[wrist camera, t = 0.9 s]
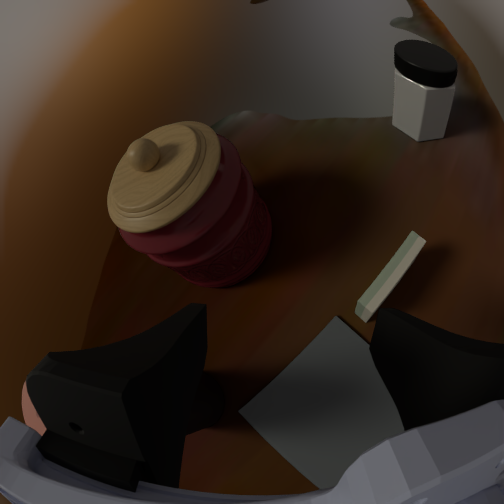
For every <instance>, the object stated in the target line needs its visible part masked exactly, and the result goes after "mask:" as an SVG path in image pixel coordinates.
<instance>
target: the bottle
mask: <svg viewBox="0 0 504 504" xmlns="http://www.w3.org/2000/svg"><path fill="white" fill-rule="evenodd" d="M223 408H224V397H223V392H222V390H221V388H220V386H219V385H218V383H217V382H216V381H215V380H214V379H213V378H212V377H210V376H208V375H207V374H205V373H203V372H202V375H201V378H200V382H199V385H198V388H197V391H196V394H195V397H194V400H193V403H192V406H191V410H190V414H189V418H188V424H187V430H186V435H188V434H191V433H194V432H196V431H199V430H201V429H204V428H206V427H209V426H211V425H213V424H214V423H215V422H216V421H218V420H219V418H220V416H221V414H222V412H223ZM22 409H23V415H24V419H25V423H26V425H27V426H29V427H31V428H33V429H34V430H36V431H37V432H38V433H39V434H40V435H41V436H43V434H44V433H45V431H46V430H47V429H46V427H45V426H44V424H43V422H42V420H41V419H40V417H39V415H38V413H37V411H36V410H35V408H34V406H33V404H32V402H31V400H30V397H29V395H28V392H27V387H26V381H25V383H24V386H23V391H22ZM186 435H185V436H186Z"/></svg>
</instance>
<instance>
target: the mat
mask: <svg viewBox="0 0 504 504" xmlns="http://www.w3.org/2000/svg"><path fill="white" fill-rule="evenodd" d="M369 347H370V345H368V344H367V343H366V342H365V341H364V340H363V339H362V338H361V337H359V336H358V335H357V334H356V333H355V332H354V331H353V330H352V329H350V328H349V327H348V326H347V325H346V324H345V323H344V322H343V321H341V320H340V319H339V318H338V317H337V316H335V317H334V318H333V319H332V321H331V322H330V323H329V324H328V325H327V326H326V327H325V328H324V329H323V330H322V331H321V332H320V334H319V335H318V336H317V337H316V338H315V339H314V340H313V341H312V342H311V343H310V344H309V345H308V346H307V347H306V348H305V349H304V350H303V351H302V352H301V353H300V354H299V355H298V356H297V357H296V358H295V359H294V360H293V361H292V362H291V363H290V364H289V365H288V366H287V367H286V368H285V369H284V370H283V371H282V372H281V373H280V374H279V375H278V376H277V377H276V378H275V379H274V380H272V381H271V382H270V383H269V384H268V385H267V386H266V387H265V388H264V389H263V390H262V391H261V392H259V393H258V394H257V395H256V396H255V397H254V398H253V399H252V400H251V401H249V402H248V403H247V404H246V405H245V406H244V407H243V408H241V409H240V410H239V411H238V412H239V413H240V414H241V415H242V416H243V417H244V418H245V419H246V420H247V421H248V422H249V423H250V424H251V425H252V426H253V428H254V429H255V430H256V431H257V432H258V433H259V434H260V435H261V436H262V437H263V438H264V439H265V440H266V441H267V442H268V443H269V444H270V445H271V446H272V447H274V448H275V449H276V450H277V451H278V452H279V453H280V454H281V455H282V456H283V457H284V458H285V459H286V460H287V461H288V462H289V463H291V464H292V465H293V466H294V467H295V468H296V469H297V470H298V471H300V472H301V473H302V474H303V475H304V476H305V477H306V478H308V479H309V480H310V481H311V482H312V483H313V484H315V485H316V486H317V487H318V488H319V489H325V488H329V487H333V486H336V485H337V484H338V482H339V481H340V479H341V478H342V476H343V474H344V473H345V471H346V470H347V469H348V467H349V466H350V465H351V464H352V463H353V462H354V461H355V460H356V459H357V458H358V457H359V456H360V455H361V454H362V453H363V452H365V451H366V450H368V449H370V448H371V447H373V446H375V445H376V444H378V443H380V442H381V441H383V440H384V439H386V438H388V437H391V436H394V435H396V434H399V433H401V432H404V427H403V424H402V421H401V418H400V415H399V412H398V410H397V407H396V405H395V403H394V401H393V399H392V397H391V395H390V393H389V392H388V390H387V388H386V386H385V384H384V382H383V380H382V379H381V377H380V375H379V373H378V371H377V369H376V367H375V365H374V362H373V359H372V356H371V353H370V350H369Z"/></svg>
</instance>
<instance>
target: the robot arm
mask: <svg viewBox="0 0 504 504" xmlns="http://www.w3.org/2000/svg"><path fill="white" fill-rule="evenodd" d="M369 350H370V353H371V356H372V359H373V362H374V365H375V367H376V369H377V371H378V373H379V375H380V377H381V379H382V380H383V382H384V384H385V386H386V388H387V390H388V392H389V393H390V395H391V397H392V399H393V401H394V403H395V405H396V407H397V410H398V412H399V415H400V418H401V421H402V424H403V427H404V432H401V433H399V434H396V435H394V436H391V437H388V438H386V439H384V440H383V441H381V442H380V443H378V444H376V445H375V446H373V447H371V448H370V449H368V450H366V451H365V452H363V453H362V454H361V455H360V456H359V457H358V458H357V459H356V460H355V461H354V462H353V463H352V464H351V465H350V466H349V467H348V469H347V470H346V471H345V473H344V474H343V476H342V478H341V479H340V481H339V482H338V484H337V485H336V486H333V487H329V488H325V489H321V490H317V491H312V492H308V493H303V494H294V495H266V496H257V495H229V494H216V493H206V492H198V491H190V490H184V489H179V479H180V470H181V462H182V455H183V448H184V442H185V435H186V430H187V424H188V418H189V414H190V410H191V406H192V403H193V400H194V397H195V394H196V391H197V388H198V385H199V382H200V378H201V375H202V372H203V369H204V365H205V359H206V353H207V313H206V304H196V303H191V304H189V305H187V306H186V307H184V308H183V309H181V310H180V311H178V312H177V313H175V314H174V315H172V316H171V317H169V318H168V319H166V320H164V321H163V322H161V323H159V324H157V325H156V326H154V327H152V328H150V329H149V330H147V331H144V332H142V333H140V334H138V335H135V336H133V337H131V338H128V339H125V340H122V341H119V342H115V343H112V344H109V345H105V346H101V347H96V348H91V349H85V350H77V351H64V352H49V353H48V354H47V355H46V356H45V357H44V358H43V359H42V360H41V362H40V363H39V364H38V365H37V366H36V367H35V368H34V369H33V370H32V371H31V372H30V373H29V374H28V375H27V379H26V387H27V392H28V395H29V397H30V400H31V402H32V404H33V406H34V408H35V410H36V411H37V413H38V415H39V417H40V419H41V420H42V422H43V424H44V426H45V427H46V429H47V430H46V431H45V433H44V434H43V436H41V435H40V434H39V433H38V432H37V431H36V430H34V429H33V428H31V427H29V426H27V425H25V424H23V423H21V422H20V421H18V420H16V419H14V418H13V417H8V419H7V420H6V421H5V422H4V424H3V425H2V426H1V427H0V493H2V495H4V496H5V497H6V498H7V499H8V500H9V501H10V502H11V503H13V504H504V344H499V343H491V342H485V341H480V340H475V339H471V338H467V337H464V336H461V335H457V334H454V333H451V332H449V331H446V330H444V329H441V328H439V327H436V326H434V325H432V324H429V323H427V322H425V321H423V320H421V319H418V318H416V317H414V316H412V315H410V314H407V313H405V312H402V311H400V310H397V309H394V308H379V312H378V316H377V320H376V324H375V328H374V332H373V336H372V339H371V343H370V347H369Z"/></svg>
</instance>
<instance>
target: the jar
mask: <svg viewBox="0 0 504 504" xmlns="http://www.w3.org/2000/svg"><path fill="white" fill-rule="evenodd" d="M394 64H395V82H394V104H393V118H392V125H393V126H395V127H396V128H398V129H399V130H401V131H402V132H404V133H405V134H407V135H408V136H410V137H411V138H413V139H414V140H416V141H417V142H420V141H426V140H433V139H440V138H443V137H444V134H445V130H446V127H447V123H448V119H449V115H450V111H451V107H452V102H453V98H454V93H455V89H456V88H455V83H454V82H455V79H456V76H457V62H456V60H455V58H454V57H453V56H452V55H451V54H450V53H448V52H447V51H446V50H444V49H442V48H441V47H439V46H436V45H434V44H431V43H428V42H424V41H419V40H404V41H401V42H398V43H397V44H396V45H395V48H394Z"/></svg>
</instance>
